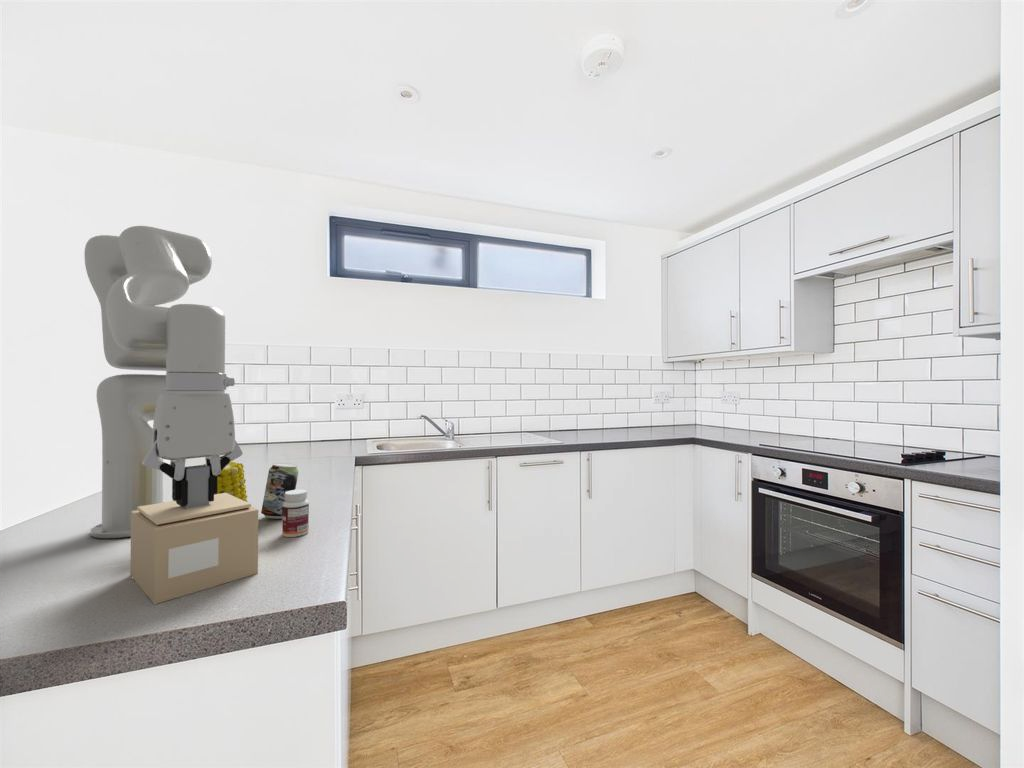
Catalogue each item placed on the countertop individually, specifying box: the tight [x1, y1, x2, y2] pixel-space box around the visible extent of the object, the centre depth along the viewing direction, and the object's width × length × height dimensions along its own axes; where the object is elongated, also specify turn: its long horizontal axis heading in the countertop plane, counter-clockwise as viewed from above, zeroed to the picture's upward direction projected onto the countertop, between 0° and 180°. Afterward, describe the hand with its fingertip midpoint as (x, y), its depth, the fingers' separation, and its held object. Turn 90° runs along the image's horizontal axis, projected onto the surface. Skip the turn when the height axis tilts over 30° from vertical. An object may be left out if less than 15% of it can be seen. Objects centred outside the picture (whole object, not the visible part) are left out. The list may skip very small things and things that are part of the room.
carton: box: [129, 506, 259, 605], centre depth 70 cm, size 14×13×10 cm
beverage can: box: [260, 462, 299, 519], centre depth 100 cm, size 6×7×12 cm
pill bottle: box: [281, 489, 310, 538], centre depth 89 cm, size 5×5×8 cm
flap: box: [137, 464, 252, 525], centre depth 70 cm, size 11×12×6 cm
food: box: [203, 461, 249, 503], centre depth 88 cm, size 15×12×10 cm
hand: (195, 501), depth 70 cm, fingers closed on flap, 2 cm apart
